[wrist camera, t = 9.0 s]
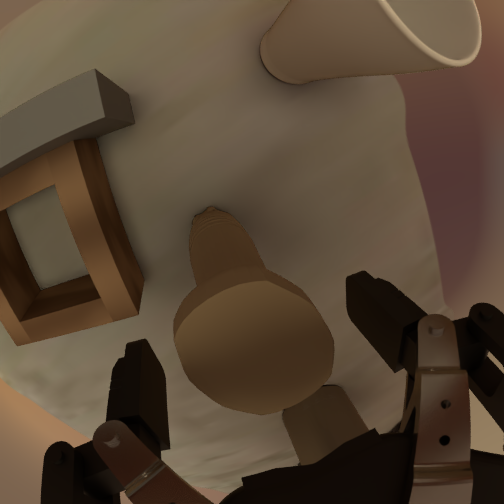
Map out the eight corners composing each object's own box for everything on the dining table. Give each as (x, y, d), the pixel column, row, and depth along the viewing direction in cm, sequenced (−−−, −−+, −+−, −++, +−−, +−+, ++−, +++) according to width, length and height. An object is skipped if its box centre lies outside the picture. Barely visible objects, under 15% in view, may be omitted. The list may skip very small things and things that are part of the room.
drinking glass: (339, 87, 21) (497, 72, 7) (262, 102, 20) (397, 68, 7) (316, 15, 18) (449, -56, 4) (237, 24, 17) (325, -94, 4)
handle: (209, 272, 24) (251, 427, 11) (162, 210, 22) (142, 341, 8) (258, 240, 24) (351, 369, 11) (215, 174, 21) (281, 250, 8)
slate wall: (135, 123, 19) (105, 116, 10) (-29, 202, 16) (-91, 238, 8) (128, 93, 18) (94, 68, 9) (-35, 178, 15) (-100, 205, 7)
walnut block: (144, 280, 23) (138, 314, 19) (35, 313, 22) (17, 346, 17) (95, 138, 18) (73, 140, 14) (-17, 195, 17) (-49, 211, 12)
